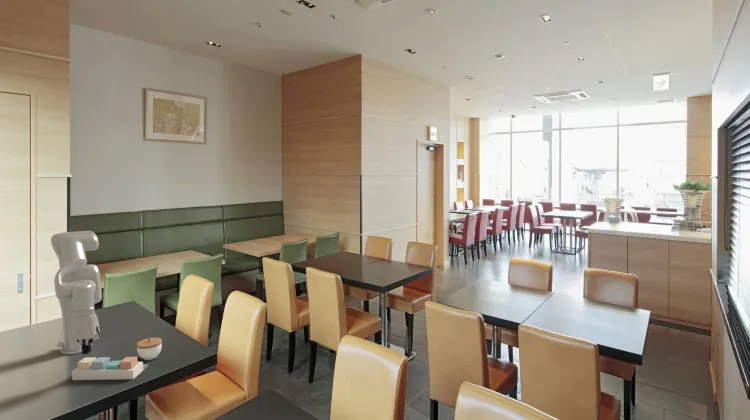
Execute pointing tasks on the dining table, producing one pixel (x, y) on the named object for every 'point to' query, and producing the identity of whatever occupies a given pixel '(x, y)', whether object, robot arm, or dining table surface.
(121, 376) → the keypad
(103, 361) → the key
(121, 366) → the key
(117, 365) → the key
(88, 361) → the key
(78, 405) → the dining table surface
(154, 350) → the lidded jar
